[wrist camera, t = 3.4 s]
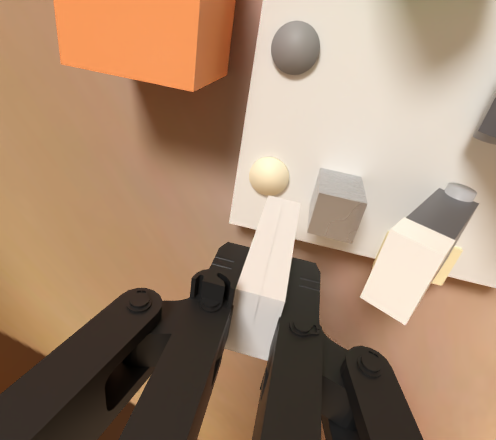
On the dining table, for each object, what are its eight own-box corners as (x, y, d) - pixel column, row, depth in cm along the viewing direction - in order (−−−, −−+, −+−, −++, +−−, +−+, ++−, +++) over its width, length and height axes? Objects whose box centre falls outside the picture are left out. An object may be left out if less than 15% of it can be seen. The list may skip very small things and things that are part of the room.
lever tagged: (412, 242, 21) (357, 302, 16) (444, 177, 19) (393, 221, 13) (447, 260, 20) (402, 330, 14) (486, 193, 18) (449, 247, 12)
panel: (234, 216, 25) (226, 232, 23) (281, -77, 16) (275, -91, 14) (488, 277, 23) (503, 300, 21) (687, -12, 15) (742, -17, 13)
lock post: (309, 203, 21) (307, 232, 18) (320, 167, 20) (318, 192, 17) (348, 212, 21) (352, 243, 18) (361, 176, 20) (367, 203, 17)
